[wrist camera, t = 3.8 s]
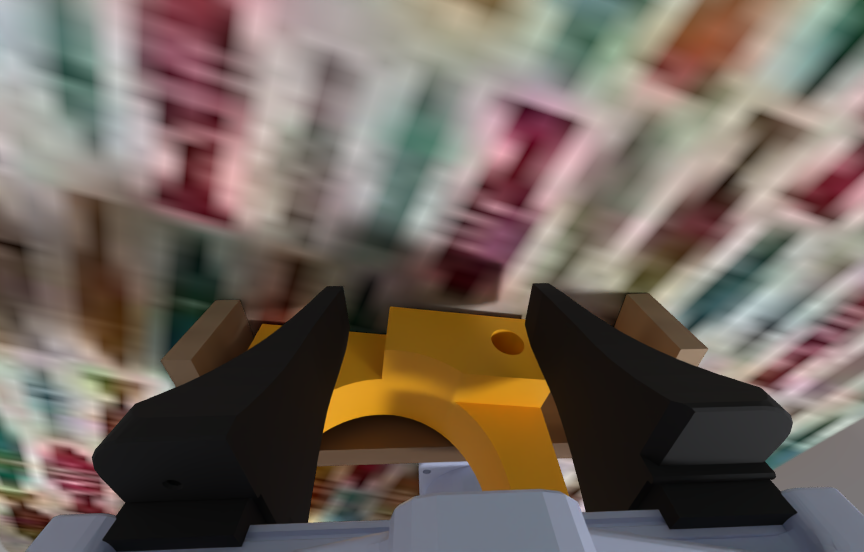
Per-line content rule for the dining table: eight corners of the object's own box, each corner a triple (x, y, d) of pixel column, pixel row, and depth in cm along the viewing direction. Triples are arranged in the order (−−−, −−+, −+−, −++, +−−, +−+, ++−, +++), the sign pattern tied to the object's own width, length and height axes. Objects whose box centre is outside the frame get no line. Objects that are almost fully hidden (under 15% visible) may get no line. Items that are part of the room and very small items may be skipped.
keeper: (606, 393, 18) (643, 455, 15) (258, 402, 17) (224, 469, 14) (648, 293, 15) (708, 348, 12) (215, 300, 14) (160, 360, 11)
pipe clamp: (532, 320, 15) (593, 475, 9) (506, 379, 17) (542, 527, 12) (255, 293, 13) (149, 454, 8) (270, 361, 16) (196, 518, 11)
